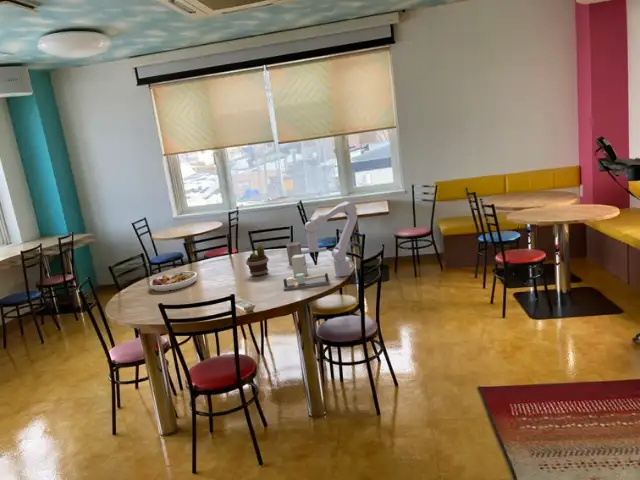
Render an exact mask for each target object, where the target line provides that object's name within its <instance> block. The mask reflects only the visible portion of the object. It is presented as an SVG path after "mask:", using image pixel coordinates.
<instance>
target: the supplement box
mask: <svg viewBox="0 0 640 480" xmlns="http://www.w3.org/2000/svg"><path fill="white" fill-rule="evenodd" d="M291 260H292V265H291V266H292V273H293V274H292V275H293V279H297V278H296V275H297V274H300V273H304V277H307V274H308V265H307V260H306V254H302V255H294V256H293V257H292V258H291Z"/></svg>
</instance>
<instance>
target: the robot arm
mask: <svg viewBox="0 0 640 480" xmlns="http://www.w3.org/2000/svg"><path fill="white" fill-rule="evenodd" d="M357 209H358V208H357V206H356V205H355V204H354V203H353V202H349V201H343V202H341V203H339V204H338V205H336V206H334V207H333V208H332V209H330V210H329V211H328V212H326V213H325V214H322V213H321V214H317V216H316V217H315V218H312V219H310V221H307V222H306V223H305V224H304V227H303V228H304V230H305V232H306V241H307V247H308V249H305V250H301V252H302V254H305V255H307V254H309V256H310V258H311V259H312V261H313V263H314V266H317V265H318V258H319V254H320V252H327V247H319V243H318V235H317V229H318V228H320V227H321V226H324V225H325V224H326V223H327V222H328V220H329V219H330V218H333V217H335V216H336V215H338V214H342V213H343V214H345V215H346V219H347V220H346V223H345V225H344V227H343V230H342V233H341V235H340V237H339V240H338V243H337V244H335V247H334V249H332V250H331V257H333V267H334V278H338V277H346V276H347V277H348V276H351V275H352V274H351V271H352V269H351V266H350V265H351V264H350V259H349V258H348V259H346V258H347V251H348V249H347V246H348V243H349V241H350V238H351V236H352V234H353V231H354V228H355V226H356V223H357V220H358V212H357Z"/></svg>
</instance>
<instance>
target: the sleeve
mask: <svg viewBox="0 0 640 480" xmlns="http://www.w3.org/2000/svg"><path fill="white" fill-rule="evenodd" d="M295 279H297V281H296V282H297V284H299V283H304V282H305V281H306V280H304V273H300V274H297V275H296V278H295Z"/></svg>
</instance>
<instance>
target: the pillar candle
mask: <svg viewBox="0 0 640 480" xmlns="http://www.w3.org/2000/svg"><path fill="white" fill-rule="evenodd" d="M285 246H286V252H287V258H288V264H289V265H290V266H292V260H291V258H292V257H293V256H294V255H302V252H301V251H302V246H301V242H300V241H292V242H289V243H287V244H286V245H285Z"/></svg>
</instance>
